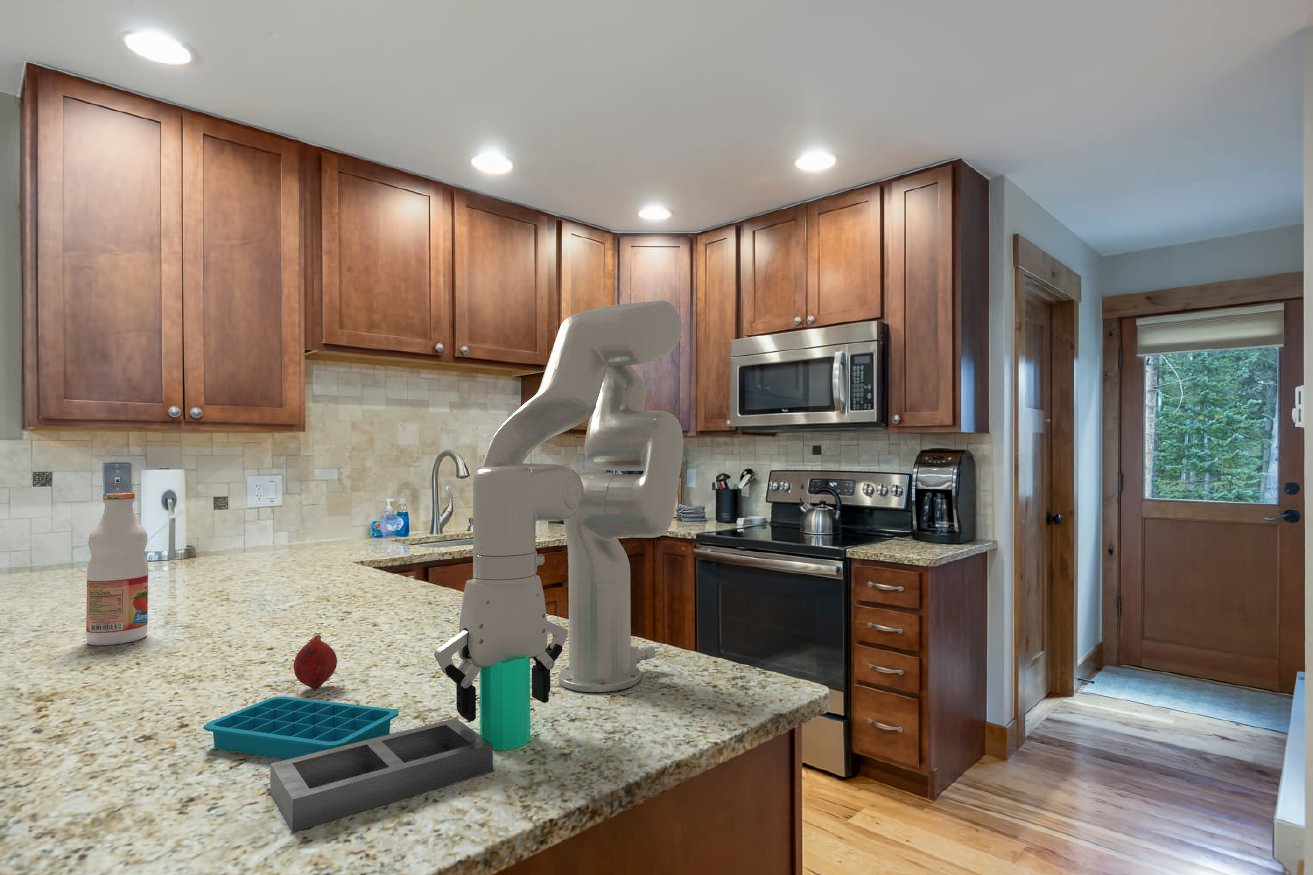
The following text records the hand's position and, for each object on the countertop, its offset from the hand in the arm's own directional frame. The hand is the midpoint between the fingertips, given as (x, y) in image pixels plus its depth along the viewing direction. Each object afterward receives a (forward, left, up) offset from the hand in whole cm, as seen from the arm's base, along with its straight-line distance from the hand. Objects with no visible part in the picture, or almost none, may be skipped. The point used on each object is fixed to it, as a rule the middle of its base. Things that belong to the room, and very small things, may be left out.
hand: (505, 708), depth 87 cm
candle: (0, 0, -4) cm, 4 cm away
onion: (+13, -36, -4) cm, 38 cm away
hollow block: (+15, +2, -4) cm, 16 cm away
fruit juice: (+35, -92, -4) cm, 99 cm away
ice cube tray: (+19, -16, -4) cm, 25 cm away
